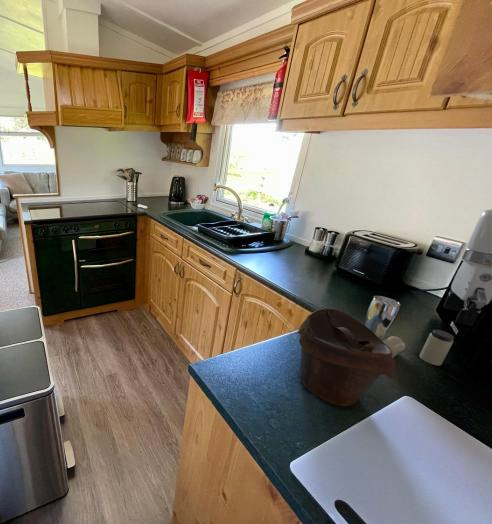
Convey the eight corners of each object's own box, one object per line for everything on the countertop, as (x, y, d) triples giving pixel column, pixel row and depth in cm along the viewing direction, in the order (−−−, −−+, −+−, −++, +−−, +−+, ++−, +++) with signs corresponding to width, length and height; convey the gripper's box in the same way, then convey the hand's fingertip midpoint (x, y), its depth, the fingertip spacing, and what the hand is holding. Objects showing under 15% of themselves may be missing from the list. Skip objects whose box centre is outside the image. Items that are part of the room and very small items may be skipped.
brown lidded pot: (361, 435, 60) (393, 365, 54) (272, 376, 75) (289, 316, 69) (388, 398, 70) (417, 336, 64) (305, 353, 85) (322, 299, 79)
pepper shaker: (438, 358, 87) (452, 332, 84) (444, 368, 83) (458, 341, 80) (417, 352, 89) (429, 327, 86) (421, 361, 85) (434, 334, 82)
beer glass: (360, 344, 91) (376, 302, 86) (354, 333, 97) (369, 293, 92) (386, 351, 89) (405, 308, 84) (379, 339, 95) (396, 298, 90)
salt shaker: (395, 333, 88) (382, 341, 83) (410, 348, 85) (396, 357, 81) (381, 340, 91) (367, 348, 87) (394, 355, 89) (381, 364, 84)
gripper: (524, 271, 66) (490, 335, 72) (488, 253, 80) (463, 307, 86) (477, 264, 69) (449, 325, 75) (451, 248, 84) (429, 301, 89)
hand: (456, 316), depth 80 cm, fingers open, 9 cm apart
